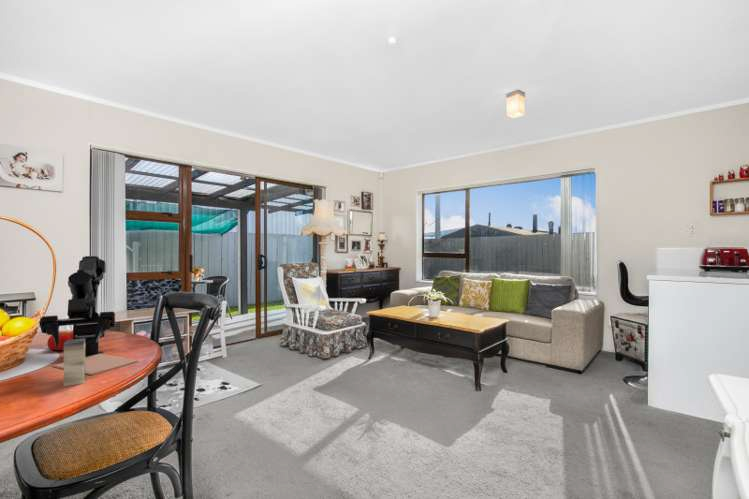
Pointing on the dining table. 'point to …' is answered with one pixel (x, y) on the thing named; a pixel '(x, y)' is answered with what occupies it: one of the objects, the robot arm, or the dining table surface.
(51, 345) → the tomato
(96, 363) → the rubber mat
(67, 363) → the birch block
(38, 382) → the dining table surface
